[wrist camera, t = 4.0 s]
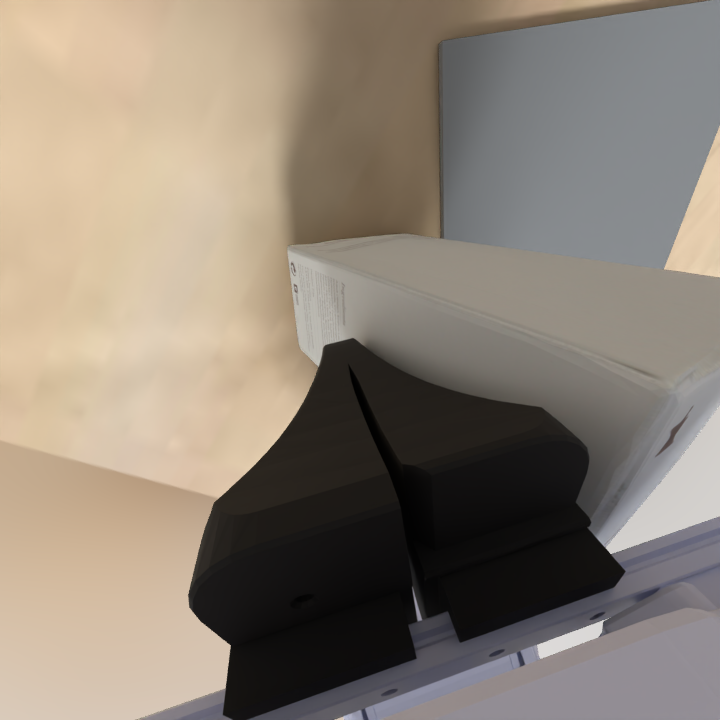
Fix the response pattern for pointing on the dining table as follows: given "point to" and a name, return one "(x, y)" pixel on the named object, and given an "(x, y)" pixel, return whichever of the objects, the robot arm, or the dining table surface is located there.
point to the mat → (580, 132)
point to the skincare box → (532, 343)
